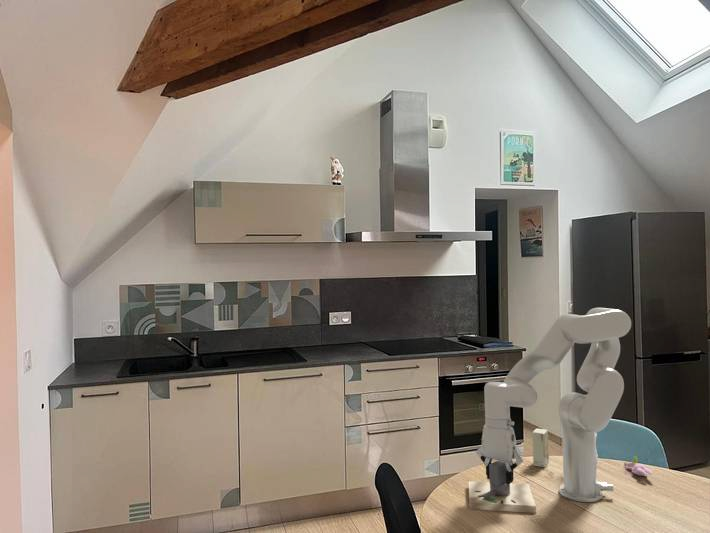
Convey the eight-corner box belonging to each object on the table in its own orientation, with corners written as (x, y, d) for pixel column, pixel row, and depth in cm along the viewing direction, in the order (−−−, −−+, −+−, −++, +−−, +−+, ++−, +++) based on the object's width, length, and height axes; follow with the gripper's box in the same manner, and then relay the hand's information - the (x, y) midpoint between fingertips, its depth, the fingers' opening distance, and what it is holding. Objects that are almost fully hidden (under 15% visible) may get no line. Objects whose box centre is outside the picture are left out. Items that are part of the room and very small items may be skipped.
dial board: (528, 490, 167) (528, 483, 167) (536, 512, 152) (535, 505, 152) (468, 487, 171) (468, 480, 171) (469, 509, 155) (469, 501, 155)
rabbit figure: (619, 471, 185) (640, 480, 170) (618, 453, 186) (637, 461, 171) (637, 470, 184) (659, 480, 170) (635, 453, 186) (657, 461, 171)
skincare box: (545, 468, 186) (544, 434, 186) (533, 466, 188) (531, 432, 188) (549, 462, 191) (548, 429, 191) (537, 460, 193) (536, 427, 194)
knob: (498, 486, 166) (497, 457, 166) (514, 491, 161) (513, 462, 161) (476, 496, 159) (475, 467, 159) (492, 502, 154) (491, 472, 154)
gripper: (529, 424, 159) (531, 483, 159) (478, 415, 170) (480, 470, 170) (519, 430, 153) (521, 491, 153) (467, 420, 165) (469, 477, 164)
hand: (499, 479), depth 162 cm, fingers open, 5 cm apart
